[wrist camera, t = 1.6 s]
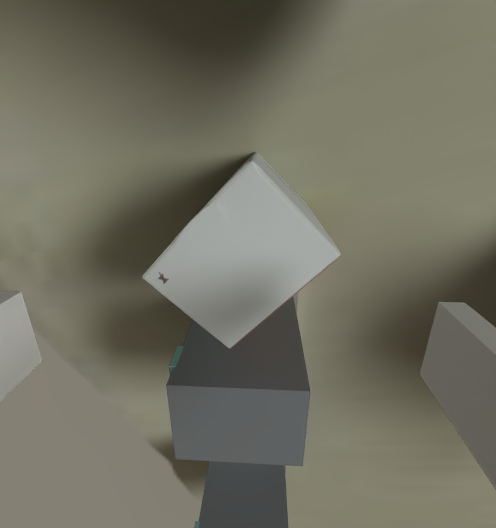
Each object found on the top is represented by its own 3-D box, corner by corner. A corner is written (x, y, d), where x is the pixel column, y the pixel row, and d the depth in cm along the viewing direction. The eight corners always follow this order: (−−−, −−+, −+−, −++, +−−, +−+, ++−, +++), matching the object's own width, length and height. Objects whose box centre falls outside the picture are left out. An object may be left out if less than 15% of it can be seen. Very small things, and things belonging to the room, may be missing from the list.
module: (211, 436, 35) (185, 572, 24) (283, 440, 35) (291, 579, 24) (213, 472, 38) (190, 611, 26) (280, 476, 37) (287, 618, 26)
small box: (244, 264, 29) (228, 353, 17) (193, 218, 27) (135, 278, 15) (309, 203, 26) (345, 255, 14) (256, 148, 25) (248, 155, 13)
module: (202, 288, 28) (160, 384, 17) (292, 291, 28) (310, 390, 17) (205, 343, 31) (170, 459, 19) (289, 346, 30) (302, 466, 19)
